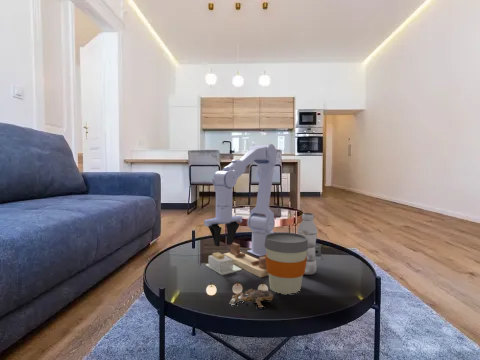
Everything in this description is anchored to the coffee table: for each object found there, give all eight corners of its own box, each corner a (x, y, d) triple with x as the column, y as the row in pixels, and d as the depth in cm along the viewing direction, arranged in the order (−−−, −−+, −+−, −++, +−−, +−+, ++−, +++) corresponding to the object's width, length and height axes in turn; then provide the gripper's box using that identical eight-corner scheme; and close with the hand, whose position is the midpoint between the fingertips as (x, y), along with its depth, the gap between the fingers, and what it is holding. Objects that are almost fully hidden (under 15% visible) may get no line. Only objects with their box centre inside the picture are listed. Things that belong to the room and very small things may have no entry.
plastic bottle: (317, 271, 98) (318, 212, 97) (315, 278, 92) (317, 216, 91) (298, 268, 100) (299, 211, 99) (295, 275, 94) (296, 214, 93)
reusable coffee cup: (303, 300, 77) (305, 245, 76) (258, 292, 81) (259, 240, 80) (309, 282, 88) (310, 234, 88) (269, 276, 93) (270, 230, 92)
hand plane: (237, 255, 114) (238, 240, 114) (276, 272, 96) (276, 255, 96) (222, 259, 110) (223, 243, 110) (260, 277, 92) (260, 259, 92)
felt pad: (224, 261, 107) (224, 260, 107) (242, 270, 98) (242, 269, 98) (205, 265, 103) (205, 264, 103) (222, 275, 94) (222, 274, 94)
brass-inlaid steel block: (220, 262, 104) (220, 251, 104) (232, 269, 98) (233, 257, 97) (208, 265, 101) (208, 253, 101) (220, 272, 95) (220, 259, 95)
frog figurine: (281, 297, 79) (281, 283, 79) (267, 318, 68) (267, 302, 68) (242, 289, 84) (243, 276, 84) (224, 308, 73) (224, 293, 73)
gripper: (234, 202, 107) (234, 239, 108) (199, 205, 98) (199, 245, 99) (246, 205, 101) (245, 243, 102) (210, 208, 93) (209, 250, 93)
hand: (223, 244), depth 100 cm, fingers open, 5 cm apart
